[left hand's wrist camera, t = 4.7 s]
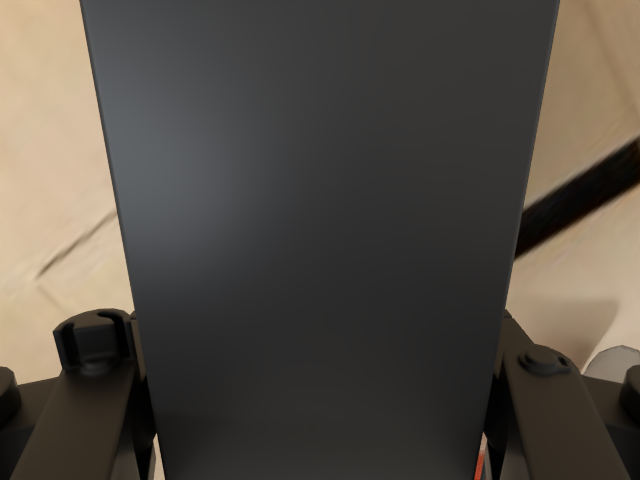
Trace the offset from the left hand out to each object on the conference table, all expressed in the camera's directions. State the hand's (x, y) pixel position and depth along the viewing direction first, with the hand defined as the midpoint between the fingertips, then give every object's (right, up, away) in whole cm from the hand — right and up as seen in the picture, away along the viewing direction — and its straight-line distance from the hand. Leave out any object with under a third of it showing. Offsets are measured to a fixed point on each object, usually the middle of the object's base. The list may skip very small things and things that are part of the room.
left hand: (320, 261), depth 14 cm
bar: (0, +8, -2) cm, 8 cm away
